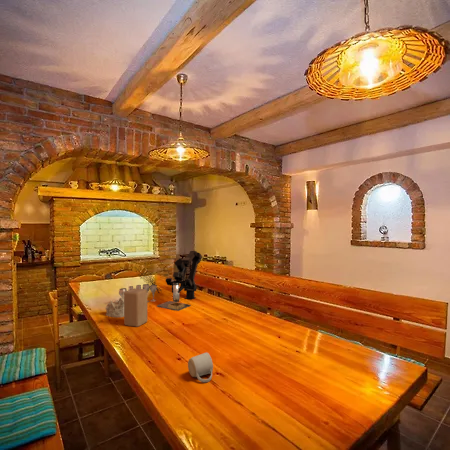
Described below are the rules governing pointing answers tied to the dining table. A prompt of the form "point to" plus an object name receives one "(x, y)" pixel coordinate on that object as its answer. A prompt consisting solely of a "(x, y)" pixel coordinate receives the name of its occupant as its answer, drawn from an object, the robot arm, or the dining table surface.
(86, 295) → the dining table surface
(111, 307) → the ceramic cottage
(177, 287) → the shiny metal cylinder
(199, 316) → the dining table surface
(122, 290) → the goblet set
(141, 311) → the wooden block
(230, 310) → the dining table surface
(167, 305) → the dark grey flat slab
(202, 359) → the ceramic mug
